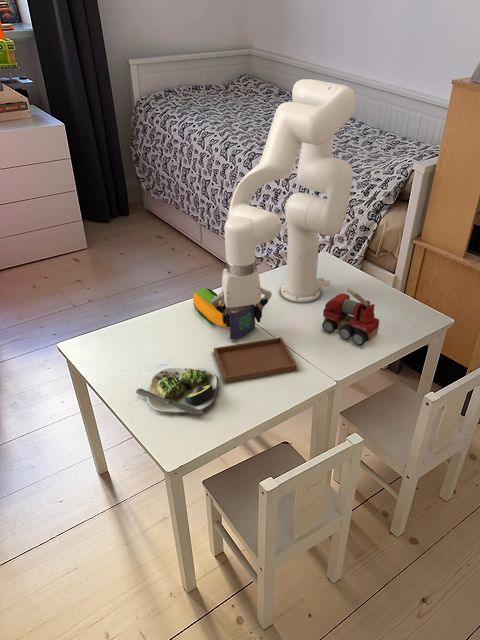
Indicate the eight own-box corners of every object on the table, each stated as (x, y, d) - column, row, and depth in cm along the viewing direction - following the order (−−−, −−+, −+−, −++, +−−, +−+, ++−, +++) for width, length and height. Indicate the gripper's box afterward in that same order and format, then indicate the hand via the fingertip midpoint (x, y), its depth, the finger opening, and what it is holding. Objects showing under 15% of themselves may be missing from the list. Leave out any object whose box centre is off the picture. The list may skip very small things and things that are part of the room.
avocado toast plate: (130, 419, 125) (127, 404, 123) (144, 371, 139) (142, 357, 136) (213, 420, 126) (212, 405, 123) (219, 372, 140) (218, 358, 137)
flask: (251, 324, 157) (250, 292, 150) (258, 328, 155) (258, 296, 148) (227, 337, 151) (226, 305, 144) (235, 341, 150) (233, 309, 143)
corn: (207, 278, 162) (240, 308, 149) (210, 300, 167) (242, 331, 154) (185, 286, 159) (216, 317, 146) (189, 307, 164) (219, 340, 152)
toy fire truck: (335, 317, 162) (340, 263, 151) (380, 335, 155) (389, 281, 144) (313, 333, 155) (317, 278, 144) (359, 354, 148) (367, 298, 137)
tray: (281, 342, 151) (281, 337, 150) (296, 370, 142) (296, 364, 141) (213, 353, 146) (213, 348, 145) (225, 383, 137) (224, 377, 136)
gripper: (268, 255, 145) (268, 310, 156) (204, 263, 140) (209, 319, 151) (277, 268, 139) (276, 324, 150) (210, 277, 135) (214, 334, 146)
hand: (242, 322), depth 151 cm, fingers closed on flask, 8 cm apart
